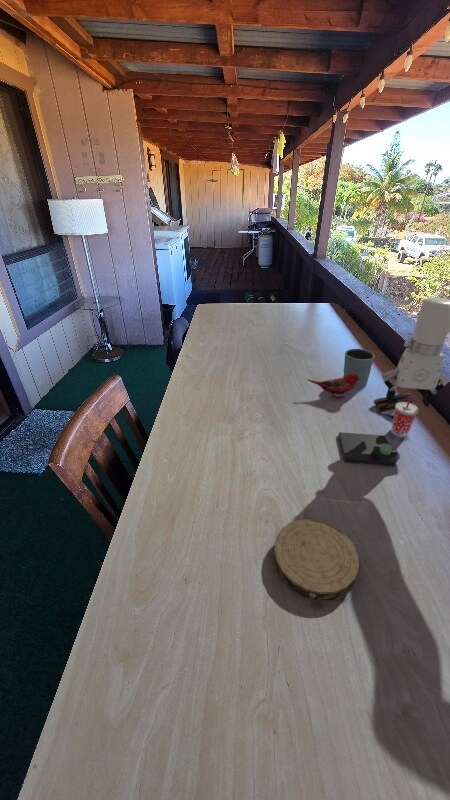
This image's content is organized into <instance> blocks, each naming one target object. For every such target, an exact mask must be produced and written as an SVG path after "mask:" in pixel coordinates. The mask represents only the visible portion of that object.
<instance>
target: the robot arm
mask: <svg viewBox="0 0 450 800" xmlns="http://www.w3.org/2000/svg"><path fill="white" fill-rule="evenodd" d="M421 303H422V304H421V306H420V309H419V311H418V314H417V315H418V316H417V318H416V321H415V325H414V328H413V332H412V335H411V337H410V339H409V340H408V341H404V343H403V346H404V348H405V347H406V348H405V350H404V352H403V353H402V354H401V357H400V359H399V361H398V364H397V366H396V368H395V369H392V370H389V371H386V372H383V373H382V374H381V376H382V377H381V378H382V379H383V382H384V384H385V386H386V387H387V388H388V389H387V391H386V395H385V397H386V398H387V399H388V401H389V403H390V404H392V403H393V400H394V397H395V395H397V394H396V393H397V389H398V388H403V389H412V390H414V389H415V390H424V393H423V397H422V399H421V402H422V403H423V405H424V406H425V407H429V406H430V404H431V402H432V400H433V398H434V395H436V394H437V393H438V392H439V391H441V390H442V389H444V387H446V385H447V384H448V383H450V378H449V377H448V376H446V375H444V374H442V369H443V362H444V354H443V353H442V350H443V348H444V344H445V342H446V339H447V337H448V333H450V299H449V298H445V297H437V296H435V297H434V296H433V297H427V298H425V299H424V300H423V301H422V302H421ZM392 377H393V380H391V381H390V378H392Z"/></svg>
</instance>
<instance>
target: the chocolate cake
mask: <svg viewBox="0 0 450 800" xmlns="http://www.w3.org/2000/svg"><path fill="white" fill-rule="evenodd" d="M411 392H412V391H409V392H404V393H399V394H395V397H394V400H393V403H392V404H390V403H389V401H388V399H387V398H386V396H385V397H379V398H375V399H374V400H373V404H374V406H376V407H377V410H378V413H379V414H381V415H389V417H391V418H392V419H394V415H395V410H396V409H395V407H396V404H397V403H399V402H407V403H408V400H409V396H410V393H411ZM414 399H415V398H414V396H413V395H412V396H411V400H410V403H411V404H413V405H414Z"/></svg>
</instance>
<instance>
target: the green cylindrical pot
mask: <svg viewBox="0 0 450 800" xmlns="http://www.w3.org/2000/svg"><path fill="white" fill-rule="evenodd" d="M375 356H376V355H375V353H373V352H372V351H370V350H367V349H364V348H363V349H362V348H350V349H347V350H346V351H345V352H344V362H343V364H344V365H343V376H342V378H343V377H345V376H346V375H348V374H352V373H355V374H357V375H358V377H359V378H360V379H361V380H358V381H357V383H356V384H355V385H354V387H353V388H352V389H364V388H366V386H367V385H368V381H369V377H370V374H371V370H372V366H373V363H374V360H375Z"/></svg>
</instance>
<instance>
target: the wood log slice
mask: <svg viewBox="0 0 450 800" xmlns="http://www.w3.org/2000/svg"><path fill="white" fill-rule="evenodd" d="M273 564H274V569H275V571H276V573H277V575H278V577H279V579H280V581H281V582H282V583H283V584H284V585H285V586H286V587H287V588H288V589H289V590H290V591H291V592H292V593H294V594H296V595H298V596H299V597H301V598H303V599H305V600H309V601H313V602H317V603H326V602H334V601H337V600H340V599H341V598H343V597H345V596H346V595H347V594H348V593H349V592H350V591H351V590H352V589H353V587H354V584H355V581H356V578H357V575H358V571H359V569H360V562H359V554H358V551H357V549H356V547H355V545H354V543H353V542H352V541H351V539H350V538H349V537H348V536H347V535H346V533H344V532H343V531H342V530H340V529H339V528H338V527H336V526H335V525H333V524H331V523H328V522H325V521H323V520H318V519H314V518H305V519H303V518H301V519H297V520H294V521H292V522H289V523H288V524H286V525H285V526H284V527H282V528H281V529H280V531H279V532H278V534H277V536H276V537H275V542H274V550H273Z"/></svg>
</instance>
